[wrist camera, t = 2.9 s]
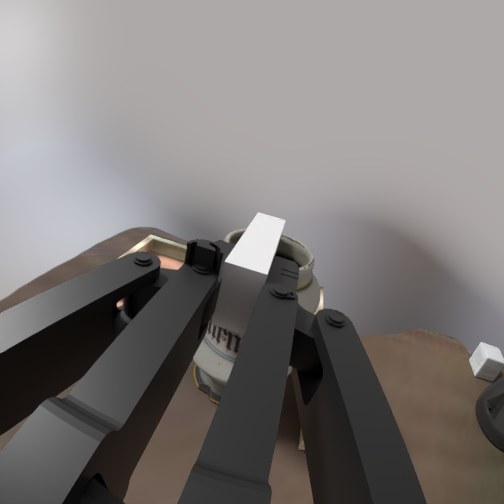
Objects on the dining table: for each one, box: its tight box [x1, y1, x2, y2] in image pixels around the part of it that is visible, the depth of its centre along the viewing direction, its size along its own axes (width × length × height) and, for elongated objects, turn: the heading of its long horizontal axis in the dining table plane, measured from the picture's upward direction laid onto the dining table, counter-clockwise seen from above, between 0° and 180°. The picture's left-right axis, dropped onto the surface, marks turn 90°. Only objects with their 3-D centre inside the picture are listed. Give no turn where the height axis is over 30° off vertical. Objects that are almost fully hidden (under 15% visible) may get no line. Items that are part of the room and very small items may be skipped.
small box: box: [469, 342, 504, 382], centre depth 43 cm, size 6×6×5 cm
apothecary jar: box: [193, 229, 320, 404], centre depth 32 cm, size 12×12×18 cm
